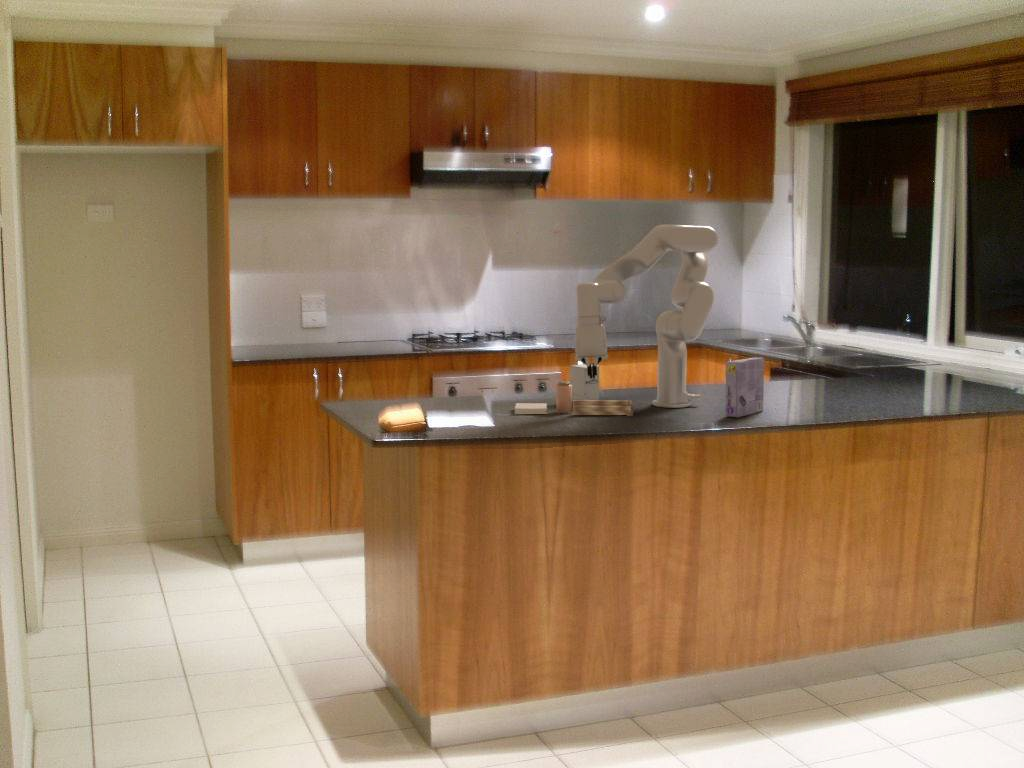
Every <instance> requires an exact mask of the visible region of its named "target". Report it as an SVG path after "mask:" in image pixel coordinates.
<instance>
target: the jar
mask: <svg viewBox="0 0 1024 768" xmlns="http://www.w3.org/2000/svg"><path fill="white" fill-rule="evenodd" d="M555 392H556V398H555V400H556V403H555V405H556V406H555V407H556V410H555V411H556V412H558V413H557V414H560V413H569V414H571V413H570V412H572V413H573V402H572V384H571V382H570V381H567V380H565V381H558V382H557V384H556V391H555ZM556 412H555V413H556Z"/></svg>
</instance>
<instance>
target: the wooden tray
mask: <svg viewBox="0 0 1024 768" xmlns="http://www.w3.org/2000/svg"><path fill="white" fill-rule="evenodd" d="M573 415H627V416H626V417H634V405H633V402H632V400H614V399H613V400H611V399H609V400H606V399H605V400H601V399H599V400H573V402H572V416H573Z"/></svg>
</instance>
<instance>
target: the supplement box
mask: <svg viewBox="0 0 1024 768" xmlns="http://www.w3.org/2000/svg"><path fill="white" fill-rule="evenodd" d="M569 382H571V384H572V403H573V400H600V365H597V375H595V378H594V379H593V376H592V379H590V376H588V372H587V365H585V364H584V363H583V364H582V363H581V364H575V365H574V364H573V365H569Z"/></svg>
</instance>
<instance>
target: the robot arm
mask: <svg viewBox="0 0 1024 768" xmlns="http://www.w3.org/2000/svg"><path fill="white" fill-rule="evenodd" d="M718 243H719V237H718V233H717V231H716V230H715V229H714V228H713V227H711V226H707V225H684V224H659V225H657V226H655V227H653V228H652V229H651V230H650V231H649V232H648V233H647V234H646V235H645V237H644V236H643V239H642V240H640V242H638V244H637V245H635V246H634V247H633V249H632V250H630V251H629V252H627V253H626V254H624V255H623V256H622V257H620V258H618V259H617V260H615V261H614V262H612V263H610V264H609V265H608V266H606V267H605V268H604V269H603V270H602V271H601V272H600V273H598V275H596V277H595V278H594V279H593V280H592V281H586V282H580V283H578V284H577V285H576V303H577V304H576V307H577V323H578V324H577V325H576V326H575V330H574V331H575V332H574V350H575V357H574V361H577V362H582V363H583V364H585V365H587V372H588V376H590V379H592V376H593V379H594V378H595V375H597V366H599V363H601V362H602V361H604V360H607V359H609V355H608V343H607V342H608V341H607V334H606V333H607V332H606V327H605V324H604V323H603V322H606V321H607V317H606V316H603V315H602V304H609V305H610V304H611V305H613V304H614V305H615V304H618V303H621V302H622V301H623V300H624V299H625V298H626V295H627V288H626V286H625V284H624V282H625V281H627V280H630V278H633V277H638V276H641V275H643V274H645V273H646V272H647V273H648V271H650V270H651V268H653V267H654V266H655V264H656V263H658V261H659V260H660V259H662V258H663V257H664V256H665V254H667V253H668V252H680V254H681V259H682V263H681V267H680V270H679V273H678V276H677V279H676V281H675V283H674V286H673V288H672V291H671V294H670V301H671V302H672V304H673V306H675V307H676V308H678V309H682V311H679V310H671V309H670V310H666V311H663V312H662V313H661V314H659V316H658V317H657V319H656V322H655V333H656V334H655V335H656V339H657V387H656V388H657V390H656V393H657V394H656V395H657V396H656V399H653V400H652V403H651V404H652V405H653V406H654V407H659V408H667V409H668V408H669V409H670V408H671V409H672V408H673V409H674V408H675V409H676V408H677V409H678V408H687V407H690V406H691V401H701V394H695V393H692V394H691V393H688V391H687V363H688V362H687V359H688V349H687V345H686V343H690V342H694V341H695V340H697V339H698V338H699V337H700V336H701V334H702V332H703V330H704V327H705V325H706V322H707V320H708V317H709V315H710V312H711V310H712V307H713V303H714V291H713V289H712V287H711V286H710V285H709V284H708V283H707V282H705V279H706V276H707V273H708V265H709V264H708V259H707V255H706V253H709V252H712V251H713V250H714V249H715V248H716V246H717V245H718ZM592 357H593V362H592V363H591V362H590V358H592Z"/></svg>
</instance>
